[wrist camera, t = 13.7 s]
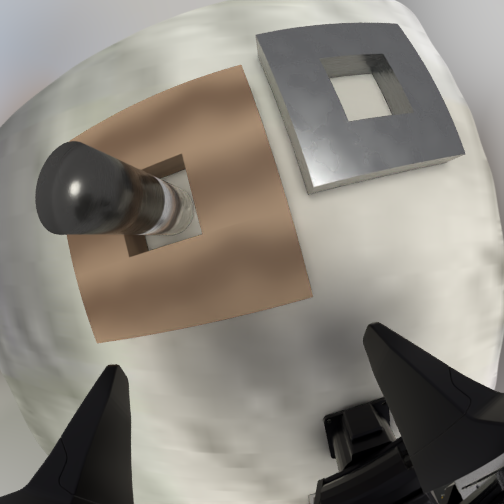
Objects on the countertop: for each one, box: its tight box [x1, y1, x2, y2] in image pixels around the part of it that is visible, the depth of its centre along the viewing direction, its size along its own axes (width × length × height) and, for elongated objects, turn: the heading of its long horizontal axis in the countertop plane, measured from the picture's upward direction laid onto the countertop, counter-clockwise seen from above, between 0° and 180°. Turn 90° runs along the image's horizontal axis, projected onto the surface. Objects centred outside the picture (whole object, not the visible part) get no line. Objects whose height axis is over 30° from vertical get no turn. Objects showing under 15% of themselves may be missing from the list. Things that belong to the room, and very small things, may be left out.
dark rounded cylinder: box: [36, 141, 194, 235], centre depth 16 cm, size 4×4×13 cm
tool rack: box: [67, 65, 313, 343], centre depth 20 cm, size 18×18×4 cm
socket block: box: [256, 23, 465, 195], centre depth 18 cm, size 14×14×4 cm
